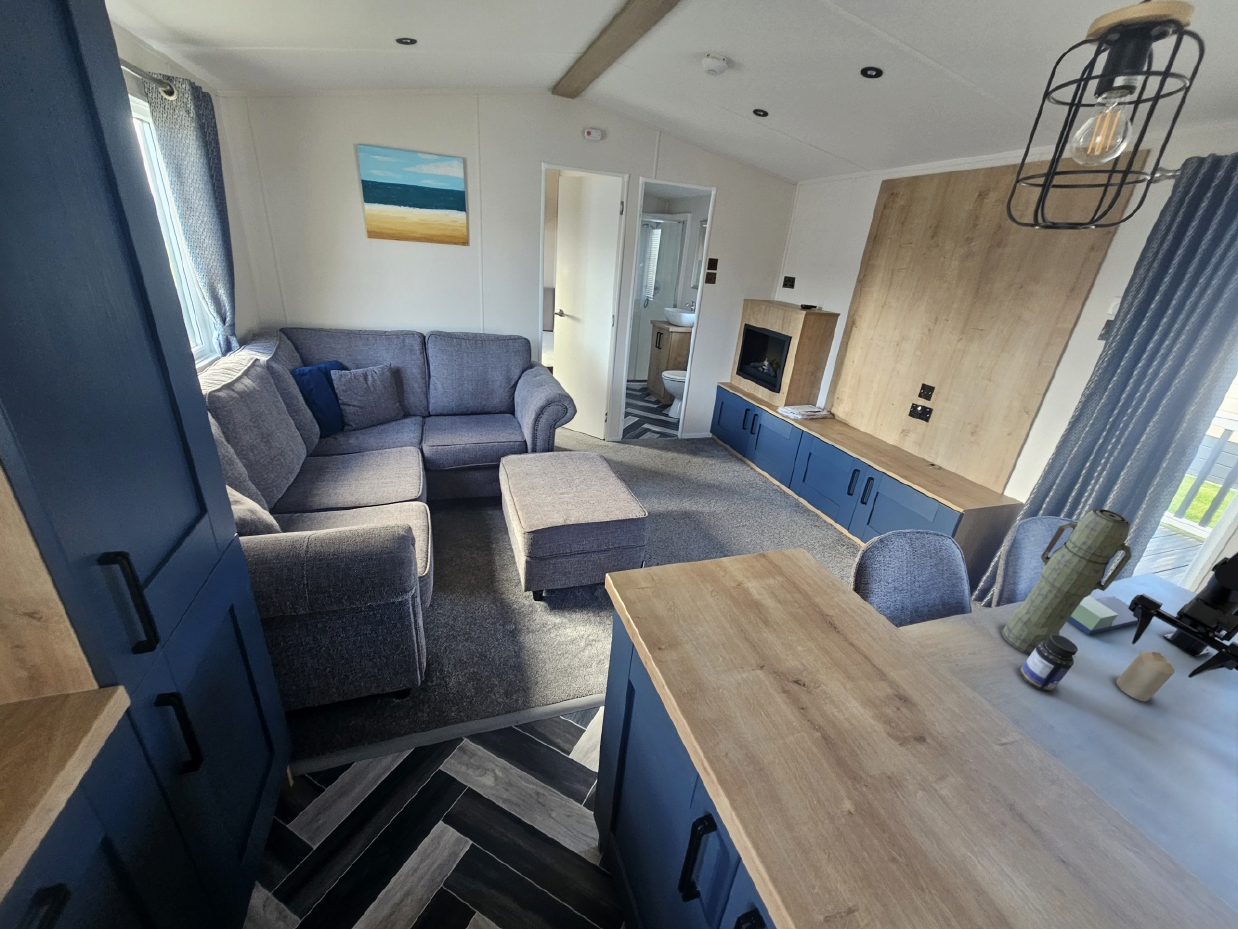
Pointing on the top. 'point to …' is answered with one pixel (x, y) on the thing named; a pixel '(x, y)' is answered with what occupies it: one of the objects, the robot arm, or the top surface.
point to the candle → (1145, 675)
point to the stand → (1101, 615)
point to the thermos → (1068, 577)
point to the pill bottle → (1049, 662)
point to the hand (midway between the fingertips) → (1160, 659)
